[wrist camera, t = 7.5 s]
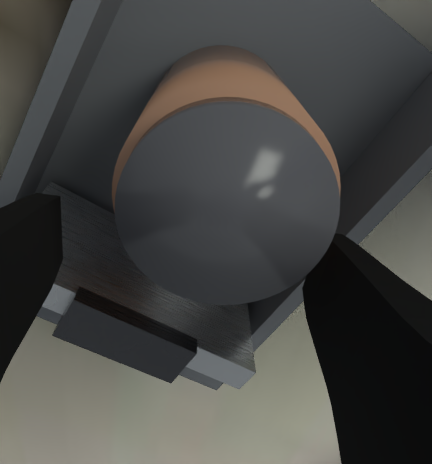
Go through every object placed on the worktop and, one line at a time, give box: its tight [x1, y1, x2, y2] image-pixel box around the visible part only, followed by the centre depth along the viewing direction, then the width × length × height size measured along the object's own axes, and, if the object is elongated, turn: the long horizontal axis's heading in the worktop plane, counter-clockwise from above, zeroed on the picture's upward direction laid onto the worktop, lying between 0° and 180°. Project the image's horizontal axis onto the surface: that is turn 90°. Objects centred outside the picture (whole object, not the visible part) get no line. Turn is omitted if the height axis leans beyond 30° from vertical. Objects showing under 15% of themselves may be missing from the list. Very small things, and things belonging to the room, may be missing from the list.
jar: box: [112, 45, 341, 305], centre depth 11 cm, size 5×5×7 cm
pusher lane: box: [0, 0, 432, 390], centre depth 14 cm, size 11×15×4 cm
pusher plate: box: [42, 182, 256, 389], centre depth 14 cm, size 9×2×6 cm, turn 57°
